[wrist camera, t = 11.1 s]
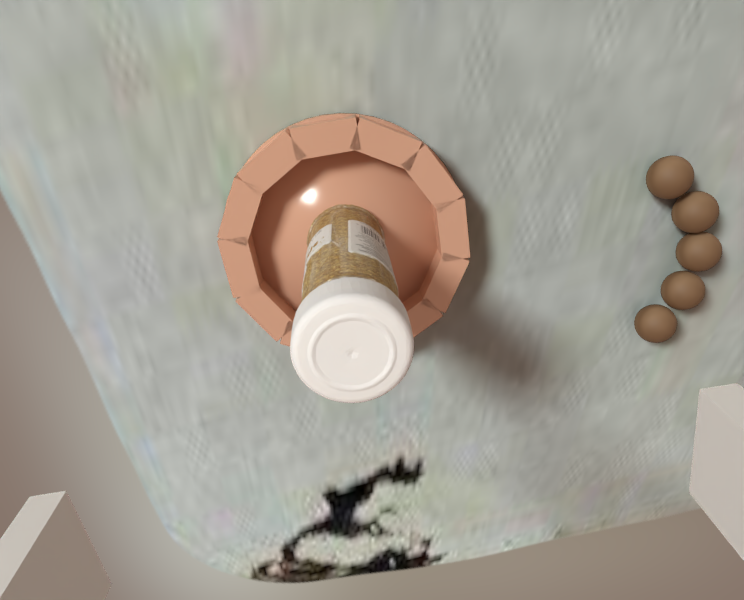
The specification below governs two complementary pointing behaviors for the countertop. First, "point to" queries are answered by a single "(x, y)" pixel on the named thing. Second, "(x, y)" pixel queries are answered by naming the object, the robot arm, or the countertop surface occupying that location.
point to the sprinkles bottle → (350, 311)
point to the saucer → (343, 186)
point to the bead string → (681, 246)
